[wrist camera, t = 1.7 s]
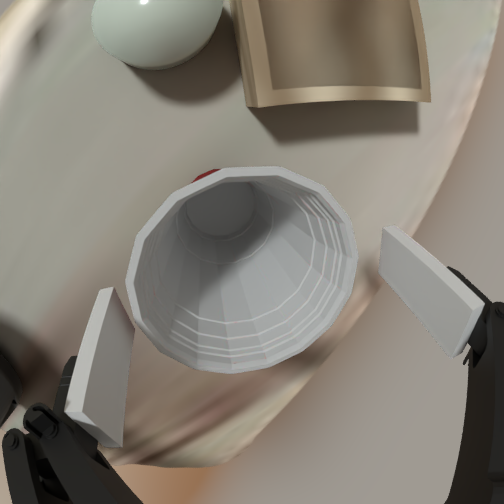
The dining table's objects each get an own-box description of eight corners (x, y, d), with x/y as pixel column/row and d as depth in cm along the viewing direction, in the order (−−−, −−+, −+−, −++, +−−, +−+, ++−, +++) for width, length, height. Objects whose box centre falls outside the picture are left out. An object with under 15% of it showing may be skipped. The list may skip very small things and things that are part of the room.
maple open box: (246, 106, 19) (258, 107, 16) (220, -50, 12) (227, -74, 9) (400, 98, 21) (431, 102, 17) (378, -36, 14) (404, -47, 10)
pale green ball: (115, 83, 17) (99, 80, 13) (103, -6, 13) (88, -23, 9) (224, 57, 17) (231, 48, 14) (209, -30, 13) (214, -52, 10)
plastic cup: (313, 181, 23) (403, 252, 13) (240, 279, 27) (273, 389, 16) (200, 105, 19) (213, 108, 9) (129, 226, 22) (93, 332, 12)
